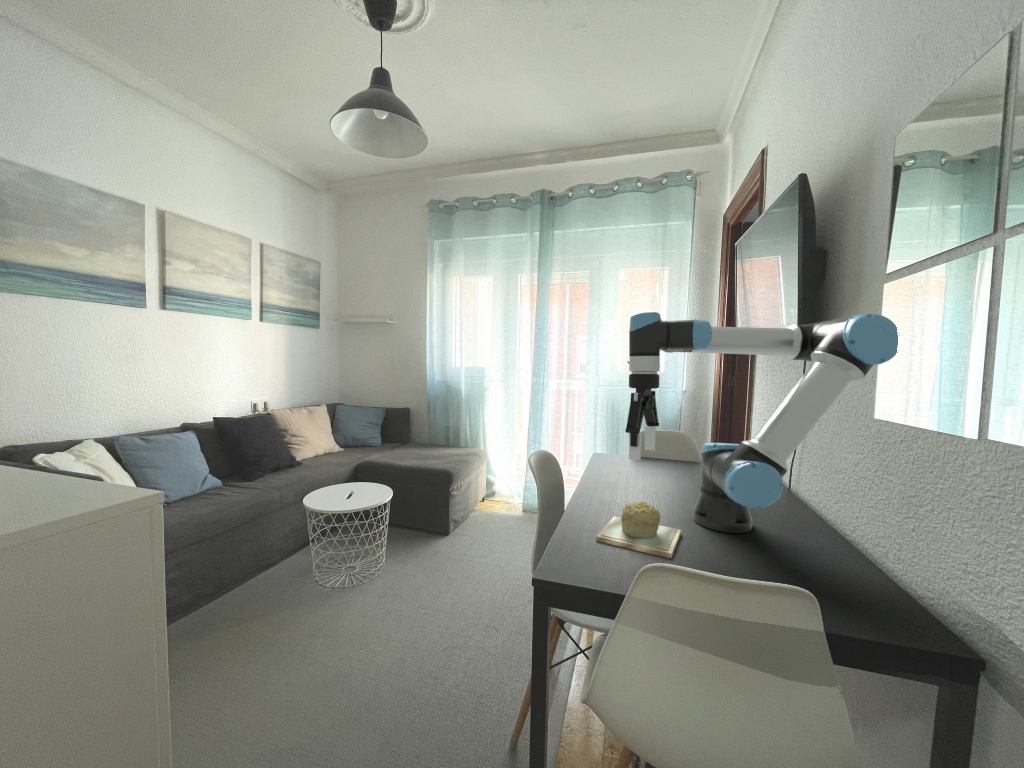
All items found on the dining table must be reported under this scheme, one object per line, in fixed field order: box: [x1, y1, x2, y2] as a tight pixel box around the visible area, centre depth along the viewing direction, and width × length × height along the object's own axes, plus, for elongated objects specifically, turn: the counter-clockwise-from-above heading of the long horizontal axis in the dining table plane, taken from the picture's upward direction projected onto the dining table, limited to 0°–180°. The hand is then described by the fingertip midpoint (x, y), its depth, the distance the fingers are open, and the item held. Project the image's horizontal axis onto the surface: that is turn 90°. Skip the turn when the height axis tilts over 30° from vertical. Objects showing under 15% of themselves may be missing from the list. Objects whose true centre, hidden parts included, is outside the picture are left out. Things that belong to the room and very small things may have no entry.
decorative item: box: [620, 501, 661, 538], centre depth 104 cm, size 10×10×10 cm
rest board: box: [595, 516, 682, 559], centre depth 104 cm, size 18×16×1 cm
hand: (642, 454), depth 104 cm, fingers open, 13 cm apart
